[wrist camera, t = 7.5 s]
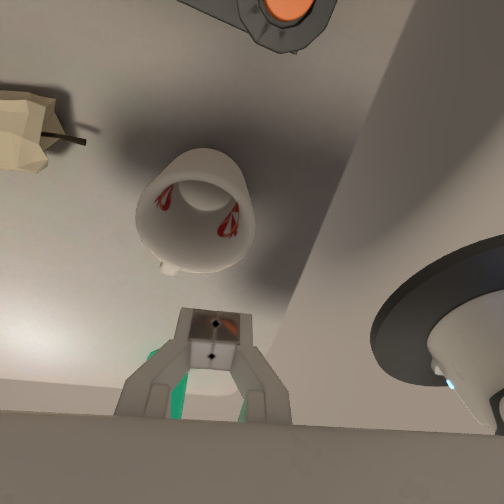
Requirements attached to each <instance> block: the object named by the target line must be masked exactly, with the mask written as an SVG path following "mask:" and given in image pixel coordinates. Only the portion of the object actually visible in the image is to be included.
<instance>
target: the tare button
mask: <svg viewBox="0 0 504 504" xmlns="http://www.w3.org/2000/svg"><path fill="white" fill-rule="evenodd" d="M313 1H314V0H263V2H264V5H265V7H266V9H267V11H268V13H269V14H270V15H271V16H272V17H273V18H274V19H276V20H278V21H281V22H290V21H293V20H296V19H298V18H300V17H301V16H303V15H304V14H305V13H306V12H307V11H308V9H309V8H310V6H311V5H312V3H313Z"/></svg>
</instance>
